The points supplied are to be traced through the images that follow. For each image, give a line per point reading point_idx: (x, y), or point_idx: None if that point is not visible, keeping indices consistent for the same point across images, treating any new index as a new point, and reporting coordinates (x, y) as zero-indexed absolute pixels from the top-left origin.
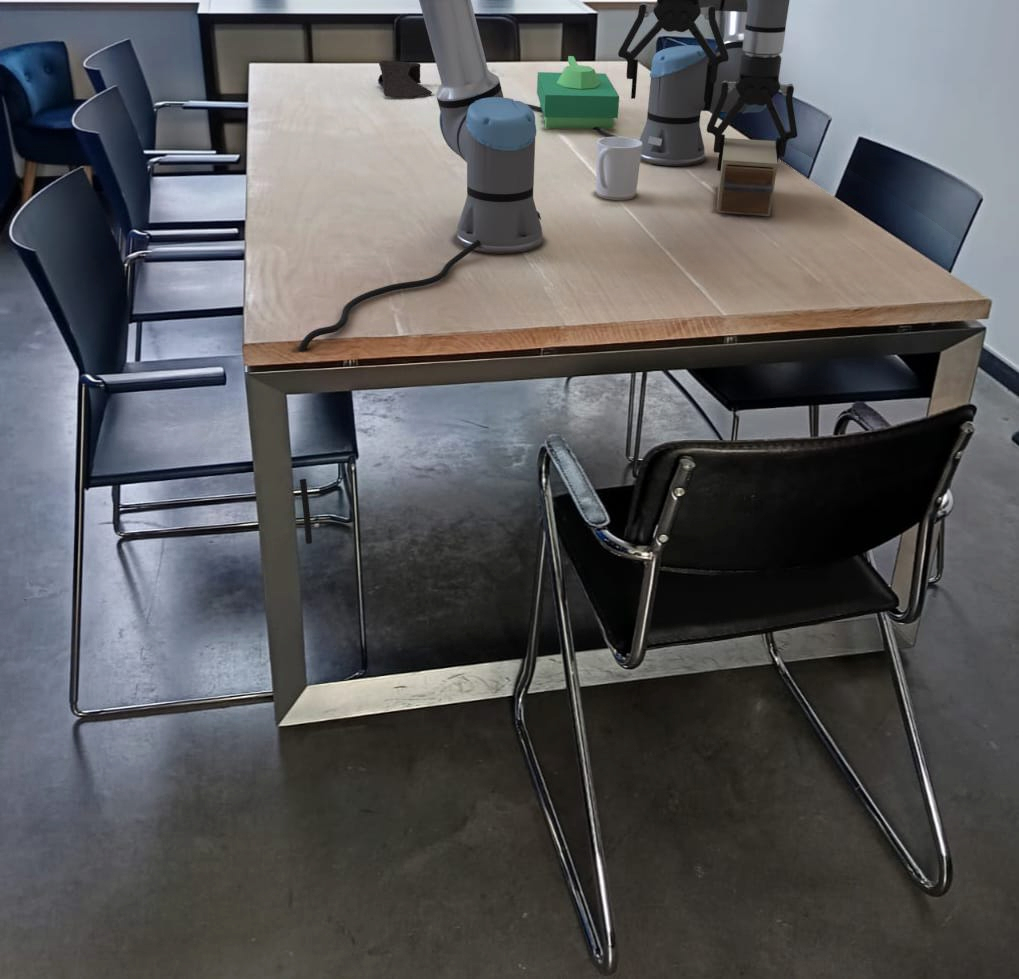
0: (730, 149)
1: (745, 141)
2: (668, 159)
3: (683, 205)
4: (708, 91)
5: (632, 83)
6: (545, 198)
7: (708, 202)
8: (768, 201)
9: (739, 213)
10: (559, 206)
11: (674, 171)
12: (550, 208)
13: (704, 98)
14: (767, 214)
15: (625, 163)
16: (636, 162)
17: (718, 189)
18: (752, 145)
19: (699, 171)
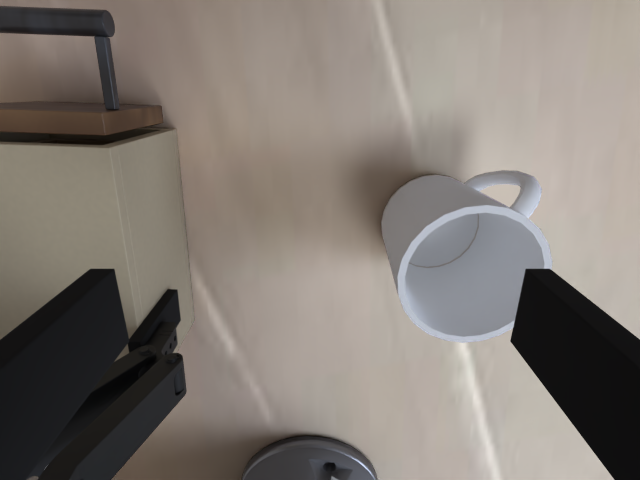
0: None
1: None
2: (311, 447)
3: (262, 173)
4: (54, 298)
5: (606, 314)
6: (610, 159)
7: (205, 209)
8: (16, 102)
9: None
10: (582, 96)
11: (296, 410)
12: (610, 71)
13: (102, 278)
14: None
15: (439, 198)
16: (403, 224)
17: (184, 270)
18: None
19: (245, 418)
